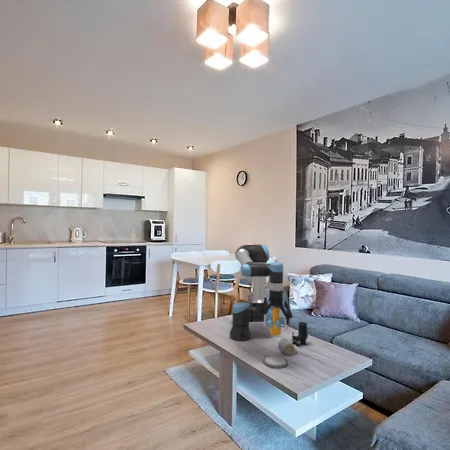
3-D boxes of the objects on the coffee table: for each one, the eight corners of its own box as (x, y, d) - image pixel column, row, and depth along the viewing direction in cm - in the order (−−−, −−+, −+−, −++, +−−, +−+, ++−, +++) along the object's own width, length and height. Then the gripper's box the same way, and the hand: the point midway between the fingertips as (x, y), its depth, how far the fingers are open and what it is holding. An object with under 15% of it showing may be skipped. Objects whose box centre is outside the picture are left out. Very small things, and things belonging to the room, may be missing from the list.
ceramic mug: (284, 356, 182) (284, 343, 182) (277, 351, 190) (278, 338, 190) (299, 354, 185) (300, 342, 185) (292, 349, 193) (293, 337, 193)
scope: (291, 322, 202) (303, 320, 207) (291, 343, 202) (303, 341, 207) (299, 326, 195) (311, 324, 199) (299, 347, 195) (311, 345, 199)
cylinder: (264, 330, 179) (264, 304, 179) (281, 330, 180) (281, 304, 180) (268, 338, 167) (269, 310, 167) (287, 337, 168) (287, 310, 168)
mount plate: (258, 363, 172) (258, 361, 172) (269, 355, 183) (269, 353, 183) (281, 370, 164) (281, 368, 164) (291, 361, 175) (291, 359, 175)
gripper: (254, 288, 177) (253, 325, 177) (293, 294, 163) (293, 334, 163) (260, 286, 183) (259, 322, 183) (299, 291, 170) (298, 330, 169)
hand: (275, 327), depth 173 cm, fingers closed on cylinder, 12 cm apart
